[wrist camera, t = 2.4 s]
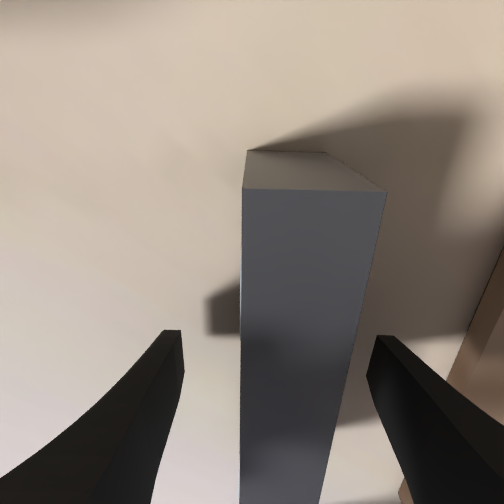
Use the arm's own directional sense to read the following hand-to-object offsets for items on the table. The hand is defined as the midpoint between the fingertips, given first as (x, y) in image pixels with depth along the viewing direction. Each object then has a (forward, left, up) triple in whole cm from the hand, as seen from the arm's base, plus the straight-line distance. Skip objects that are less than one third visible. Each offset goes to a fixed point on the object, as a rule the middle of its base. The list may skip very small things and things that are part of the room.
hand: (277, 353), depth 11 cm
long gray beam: (0, 0, -2) cm, 2 cm away
